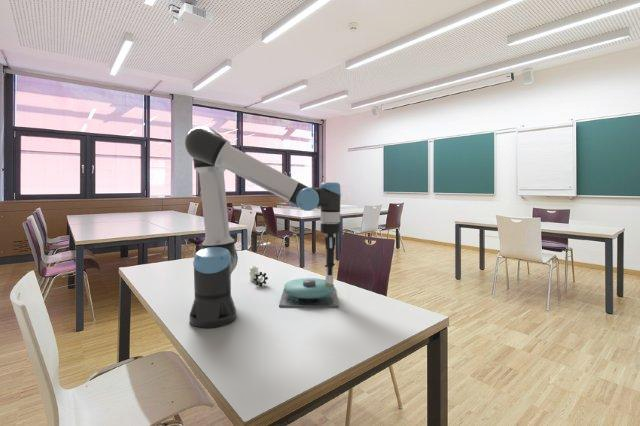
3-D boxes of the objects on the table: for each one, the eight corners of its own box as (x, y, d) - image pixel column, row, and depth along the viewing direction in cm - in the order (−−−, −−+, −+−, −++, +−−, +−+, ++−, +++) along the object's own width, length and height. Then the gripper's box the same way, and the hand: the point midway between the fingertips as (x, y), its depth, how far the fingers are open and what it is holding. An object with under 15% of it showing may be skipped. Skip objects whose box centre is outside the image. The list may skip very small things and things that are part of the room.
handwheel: (282, 298, 125) (282, 280, 124) (286, 282, 145) (286, 266, 144) (335, 298, 125) (335, 280, 125) (332, 282, 145) (332, 267, 144)
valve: (246, 280, 158) (253, 287, 147) (245, 266, 157) (253, 272, 147) (259, 278, 161) (268, 285, 150) (259, 265, 160) (268, 271, 150)
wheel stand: (338, 307, 124) (338, 300, 124) (279, 307, 124) (279, 300, 124) (334, 288, 146) (334, 282, 146) (284, 288, 146) (284, 282, 146)
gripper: (341, 224, 122) (340, 287, 124) (338, 220, 135) (338, 277, 137) (320, 224, 122) (320, 287, 124) (320, 220, 135) (319, 277, 137)
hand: (329, 282), depth 130 cm, fingers closed
